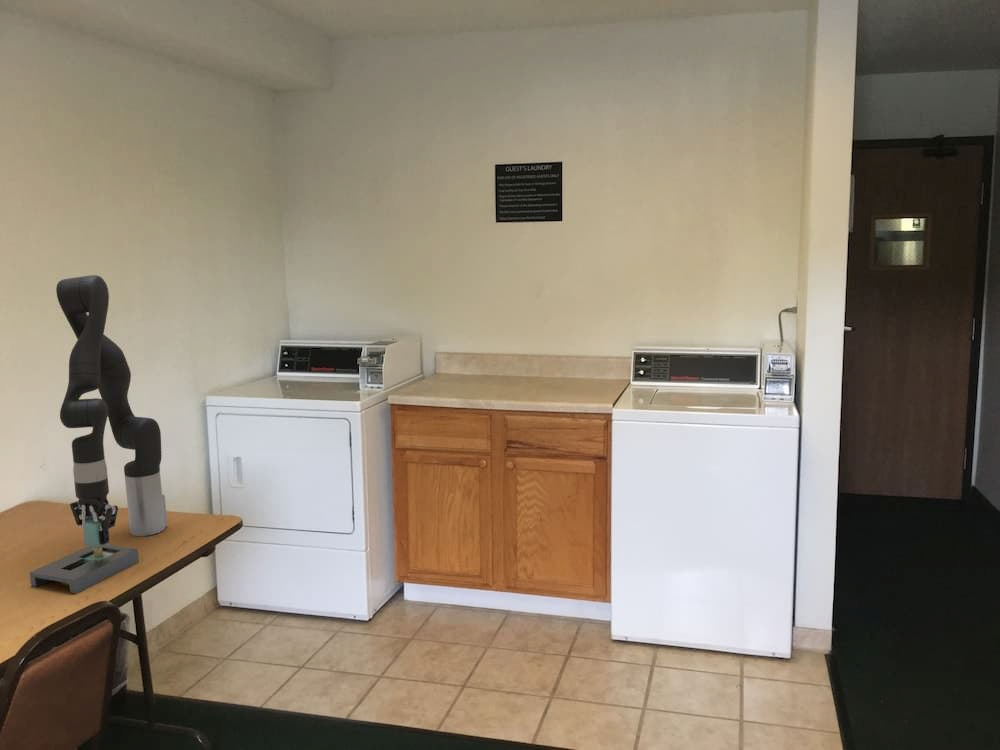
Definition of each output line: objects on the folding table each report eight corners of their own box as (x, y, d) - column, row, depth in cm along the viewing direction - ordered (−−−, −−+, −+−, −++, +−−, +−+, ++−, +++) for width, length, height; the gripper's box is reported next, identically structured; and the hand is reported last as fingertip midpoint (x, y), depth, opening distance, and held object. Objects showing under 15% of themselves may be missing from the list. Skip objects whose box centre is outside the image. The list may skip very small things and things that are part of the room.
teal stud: (99, 557, 212) (95, 516, 210) (114, 559, 211) (110, 518, 209) (83, 564, 208) (79, 522, 206) (98, 567, 206) (94, 525, 204)
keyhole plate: (97, 555, 217) (96, 542, 216) (139, 561, 212) (137, 549, 212) (31, 586, 199) (29, 572, 198) (75, 594, 194) (73, 580, 193)
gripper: (124, 475, 206) (130, 540, 209) (81, 470, 211) (88, 534, 214) (100, 484, 199) (107, 551, 202) (57, 478, 204) (64, 544, 207)
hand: (97, 542), depth 208 cm, fingers closed on teal stud, 4 cm apart
